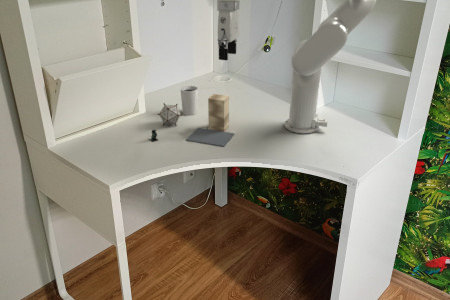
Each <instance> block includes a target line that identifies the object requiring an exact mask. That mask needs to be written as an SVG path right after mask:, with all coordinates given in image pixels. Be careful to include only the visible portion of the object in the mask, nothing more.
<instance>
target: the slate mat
mask: <svg viewBox="0 0 450 300" xmlns="http://www.w3.org/2000/svg"><path fill="white" fill-rule="evenodd" d="M234 136H235V132H230V131H229V132H228V131H225V132H223V131H217V130H210V129H209V128H205V127H204V128H203V127H197V128H196V129H195V130H194V131H193V132H192V133H190V134H189V136H187V138H186V139H185V141H187V142H193V143H198V144H205V145H211V146H216V147H223V148H225V146H226V145H228V143H229V141H230V140H231V139H232V138H233V137H234Z"/></svg>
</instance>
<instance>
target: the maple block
mask: <svg viewBox="0 0 450 300" xmlns="http://www.w3.org/2000/svg"><path fill="white" fill-rule="evenodd" d="M207 102H208V103H207V108H208V110H207V111H208V113H207V114H208V118H207V119H208V121H207V122H208V129H210V130H217V131H223V132H227V130H228V129H229V128H230V125H229V124H230V95H225V94H224V95H223V94H218V93H217V94H215V93H213V94H212V95H210V96H209V97H208V98H207Z"/></svg>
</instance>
